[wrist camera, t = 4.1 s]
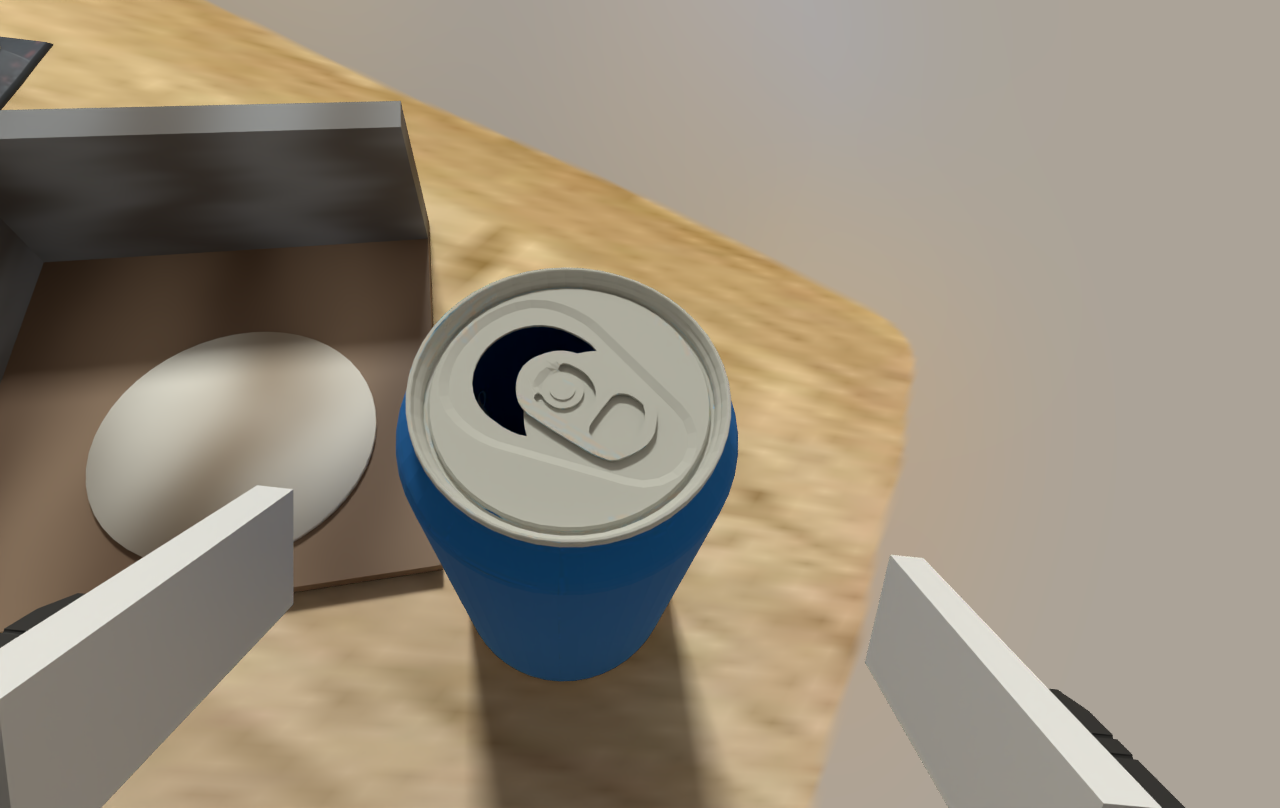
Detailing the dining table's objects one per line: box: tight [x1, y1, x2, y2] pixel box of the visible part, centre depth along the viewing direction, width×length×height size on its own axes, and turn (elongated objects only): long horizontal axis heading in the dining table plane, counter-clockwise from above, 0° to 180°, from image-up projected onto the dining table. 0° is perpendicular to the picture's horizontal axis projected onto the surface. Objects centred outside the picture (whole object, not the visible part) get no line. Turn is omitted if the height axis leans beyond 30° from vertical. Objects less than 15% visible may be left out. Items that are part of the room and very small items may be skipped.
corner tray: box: [0, 101, 443, 633], centre depth 21 cm, size 16×16×6 cm
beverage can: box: [396, 268, 738, 681], centre depth 16 cm, size 6×6×12 cm
